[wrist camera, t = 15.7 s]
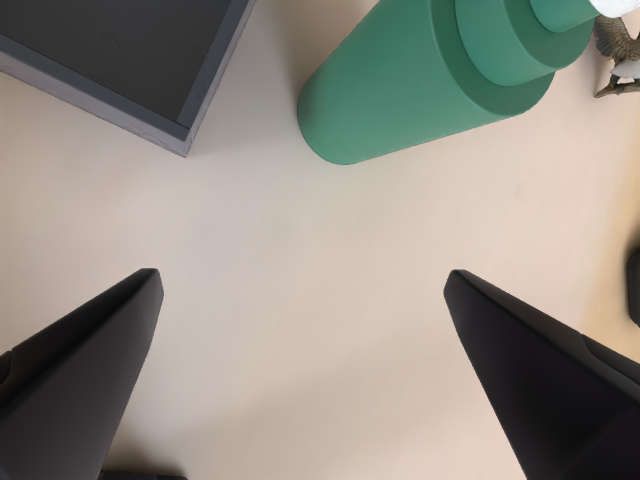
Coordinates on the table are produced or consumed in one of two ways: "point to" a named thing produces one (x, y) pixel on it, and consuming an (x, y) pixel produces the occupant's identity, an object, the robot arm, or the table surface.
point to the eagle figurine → (618, 54)
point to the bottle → (440, 70)
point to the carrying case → (634, 288)
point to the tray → (126, 58)
